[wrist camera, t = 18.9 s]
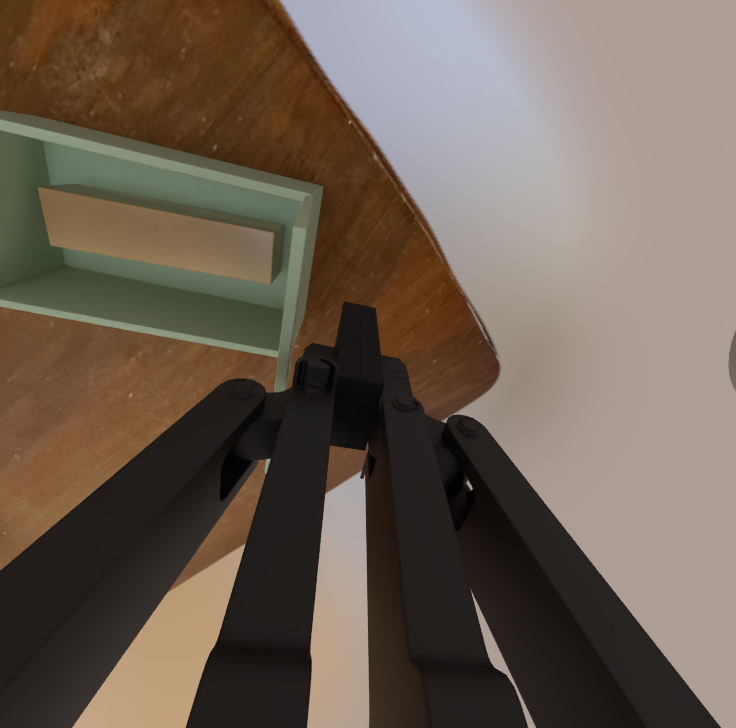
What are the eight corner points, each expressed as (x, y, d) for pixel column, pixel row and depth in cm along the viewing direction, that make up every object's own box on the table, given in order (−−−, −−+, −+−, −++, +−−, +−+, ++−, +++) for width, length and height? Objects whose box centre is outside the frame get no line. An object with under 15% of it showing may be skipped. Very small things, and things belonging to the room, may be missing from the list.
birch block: (281, 271, 28) (271, 285, 25) (86, 236, 26) (49, 246, 23) (284, 224, 26) (274, 232, 23) (76, 183, 24) (36, 186, 21)
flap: (305, 195, 18) (313, 196, 18) (283, 364, 23) (290, 364, 23) (293, 226, 10) (306, 229, 10) (263, 474, 15) (274, 474, 15)
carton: (323, 186, 25) (311, 193, 19) (304, 317, 30) (288, 359, 23) (36, 115, 23) (-94, 96, 16) (64, 269, 28) (-28, 301, 21)
